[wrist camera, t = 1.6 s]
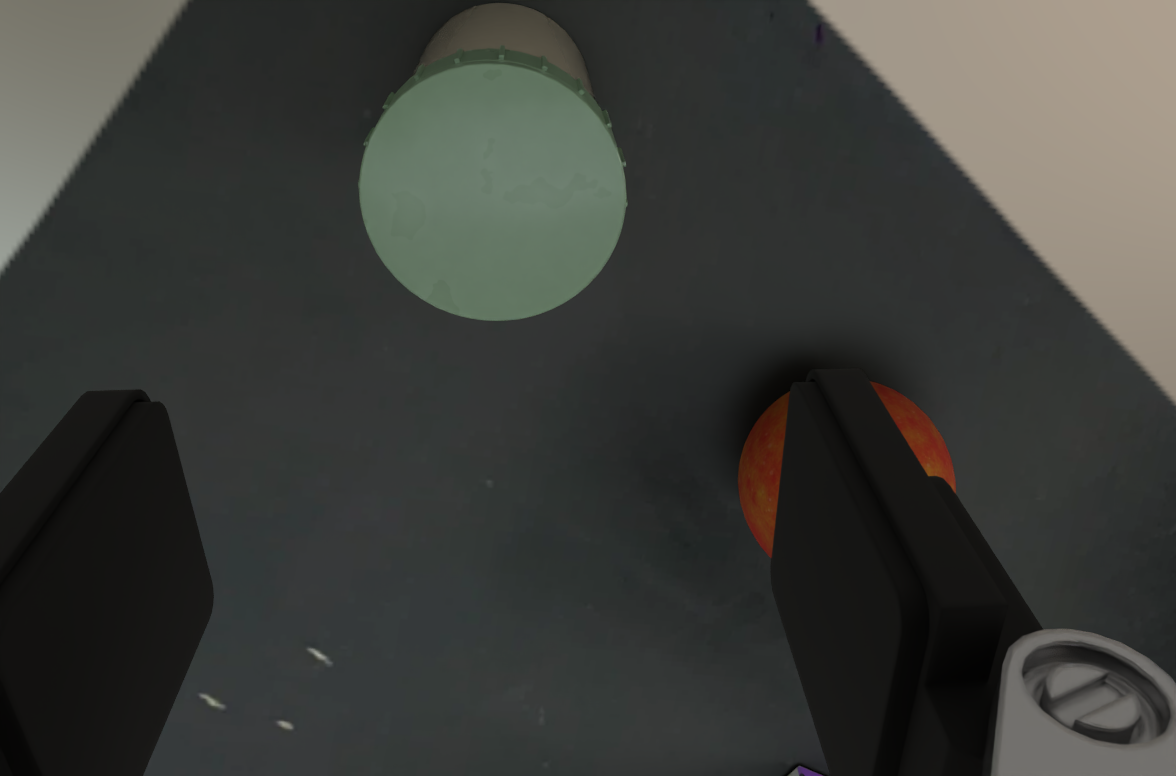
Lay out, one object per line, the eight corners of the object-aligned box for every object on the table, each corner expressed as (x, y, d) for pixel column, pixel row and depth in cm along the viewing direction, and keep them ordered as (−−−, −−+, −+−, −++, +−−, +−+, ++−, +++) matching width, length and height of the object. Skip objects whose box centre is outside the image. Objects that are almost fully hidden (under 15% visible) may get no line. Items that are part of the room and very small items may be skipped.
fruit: (945, 430, 35) (1047, 572, 29) (793, 533, 38) (854, 690, 31) (841, 304, 33) (925, 428, 26) (683, 424, 35) (722, 569, 28)
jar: (403, 158, 29) (355, 278, 21) (432, -19, 27) (391, 40, 19) (567, 196, 30) (581, 326, 22) (609, 28, 28) (644, 104, 20)
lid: (351, 265, 22) (339, 294, 21) (388, 14, 20) (378, 27, 18) (586, 315, 23) (590, 346, 22) (652, 82, 21) (662, 100, 19)
